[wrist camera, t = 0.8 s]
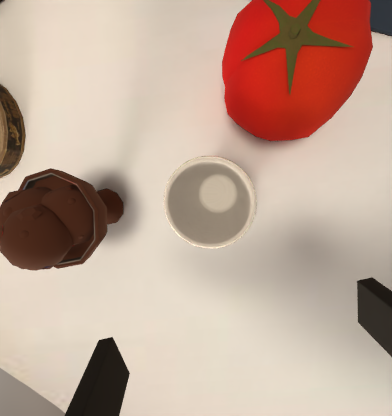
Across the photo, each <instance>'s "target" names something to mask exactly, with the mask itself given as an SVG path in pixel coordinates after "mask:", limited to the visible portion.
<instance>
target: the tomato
mask: <svg viewBox="0 0 392 416" xmlns="http://www.w3.org/2000/svg"><path fill="white" fill-rule="evenodd" d="M370 10H371V3H370V1H369V0H252V1H251V2H250V3H249V4H248V5H247V6H246V7H245V8H244V9H242V10H241V11H240V12H239V13H238V14H237V16H236V19H235V21H234V23H233V26H232V28H231V30H230V34H229V37H228V41H227V45H226V49H225V53H224V57H223V61H222V77H223V80H224V84H225V97H224V98H225V103H226V108H227V113H228V115H229V116H230V117H231V118H232V119H233V120H234V121H235V122H236V123H237V124H238V125H240V126H241V127H242V128H244V129H245V130H247V131H248V132H250V133H251V134H253V135H254V136H256V137H259V138H263V139H266V140H269V141H280V140H294V139H300V138H305V137H309V136H310V135H311V134H312V133H314V132H315V131H316V130H317V129H318V128H320V127H321V126H322V125H323V124H325V123H326V122H327V121H328V120H329V119H331V118H332V117H333V115H334V114H335V113H336V112H337V111H338V110H339V108H340V107H341V106H342V105H343V104H344V103H345V102H346V100H347V99H348V98H349V97H350V96H351V94H352V92H353V91H354V89H355V87H356V86H357V84H358V82H359V81H360V79H361V78H362V76H363V73H364V70H365V67H366V65H367V62H368V59H369V57H370V54H371V51H372V48H373V45H372V37H371V28H370Z"/></svg>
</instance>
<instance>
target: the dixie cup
mask: <svg viewBox="0 0 392 416" xmlns="http://www.w3.org/2000/svg"><path fill="white" fill-rule="evenodd" d="M256 204H257V202H256V193H255V189H254V187H253V184H252V182H251V180H250V178H249V177H248V175H247V174H246V173H245V172H244V171H243V170H242V169H241V168H240V167H239V166H238V165H236V164H235V163H233V162H231V161H230V160H227V159H225V158H221V157H217V156H202V157H197V158H194V159H192V160H189V161H187V162H186V163H184V164H183V165H181V166H180V167H179V168H178V169H177V170H176V171H175V172H174V173H173V174H172V176H171V177H170V179H169V181H168V183H167V186H166V189H165V193H164V210H165V214H166V217H167V220H168V222H169V224H170V226H171V227H172V229H173V230H174V231H175V232H176V234H177V235H178V236H180V237H181V238H182V239H183V240H185V241H186V242H188V243H190V244H192V245H195V246H198V247H202V248H220V247H224V246H227V245H230V244H232V243H234V242H235V241H237V240H238V239H239V238H241V237H242V236H243V235H244V234H245V233H246V231H247V230H248V229H249V227H250V226H251V224H252V222H253V219H254V216H255V213H256Z"/></svg>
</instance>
